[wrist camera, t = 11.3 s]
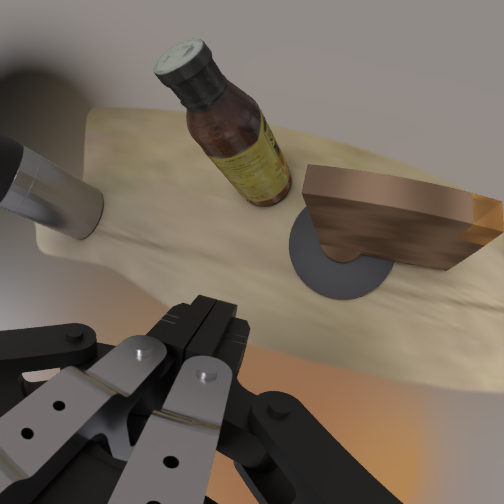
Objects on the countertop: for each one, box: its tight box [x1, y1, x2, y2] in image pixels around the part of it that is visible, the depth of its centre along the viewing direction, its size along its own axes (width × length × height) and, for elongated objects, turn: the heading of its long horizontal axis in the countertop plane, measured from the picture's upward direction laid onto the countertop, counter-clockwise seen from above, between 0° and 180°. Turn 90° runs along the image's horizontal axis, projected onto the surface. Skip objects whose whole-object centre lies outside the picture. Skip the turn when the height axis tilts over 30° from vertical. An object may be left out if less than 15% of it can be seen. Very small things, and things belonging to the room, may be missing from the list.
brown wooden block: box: [302, 164, 504, 271], centre depth 20 cm, size 13×4×12 cm, turn 75°
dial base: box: [289, 206, 394, 300], centre depth 28 cm, size 11×11×1 cm
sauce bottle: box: [153, 38, 291, 206], centre depth 24 cm, size 6×6×20 cm
